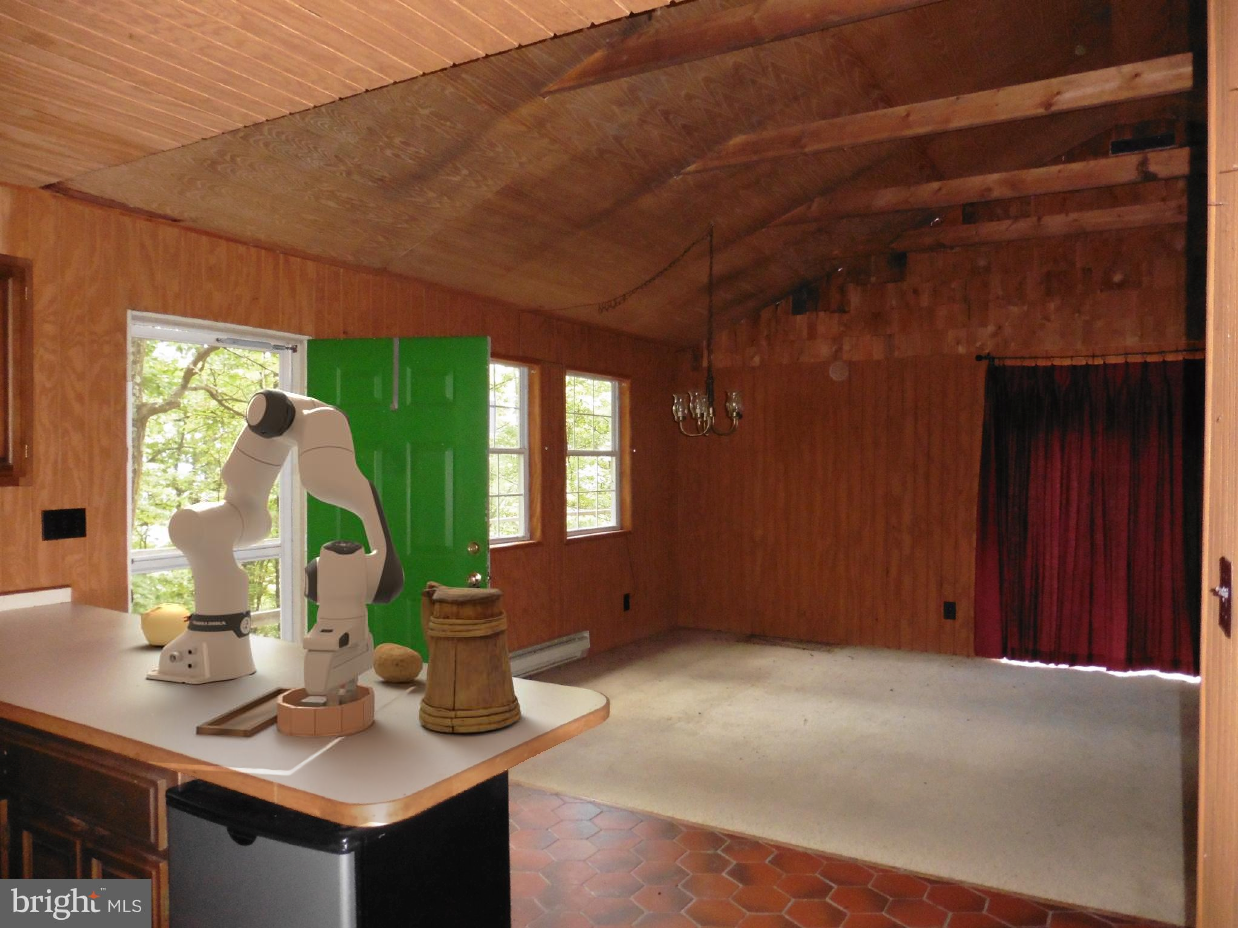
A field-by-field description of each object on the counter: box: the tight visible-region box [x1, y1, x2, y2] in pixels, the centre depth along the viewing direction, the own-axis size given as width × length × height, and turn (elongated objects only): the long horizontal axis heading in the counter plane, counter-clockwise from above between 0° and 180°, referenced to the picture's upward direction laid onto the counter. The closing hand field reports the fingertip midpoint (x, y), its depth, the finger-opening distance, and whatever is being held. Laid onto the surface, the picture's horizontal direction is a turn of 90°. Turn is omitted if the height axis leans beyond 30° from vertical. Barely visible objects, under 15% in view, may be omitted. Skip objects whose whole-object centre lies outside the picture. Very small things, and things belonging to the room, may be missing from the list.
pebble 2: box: [326, 689, 358, 706], centre depth 151 cm, size 4×4×4 cm
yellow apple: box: [140, 602, 192, 646], centre depth 216 cm, size 11×12×11 cm
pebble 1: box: [300, 696, 326, 707], centre depth 152 cm, size 4×4×4 cm
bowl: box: [276, 682, 376, 739], centre depth 151 cm, size 17×17×6 cm
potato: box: [372, 642, 424, 684], centre depth 181 cm, size 10×14×8 cm
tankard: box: [418, 581, 522, 734], centre depth 156 cm, size 18×24×25 cm
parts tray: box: [195, 686, 296, 738], centre depth 156 cm, size 10×26×2 cm, turn 172°
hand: (341, 705), depth 151 cm, fingers closed on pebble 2, 4 cm apart
